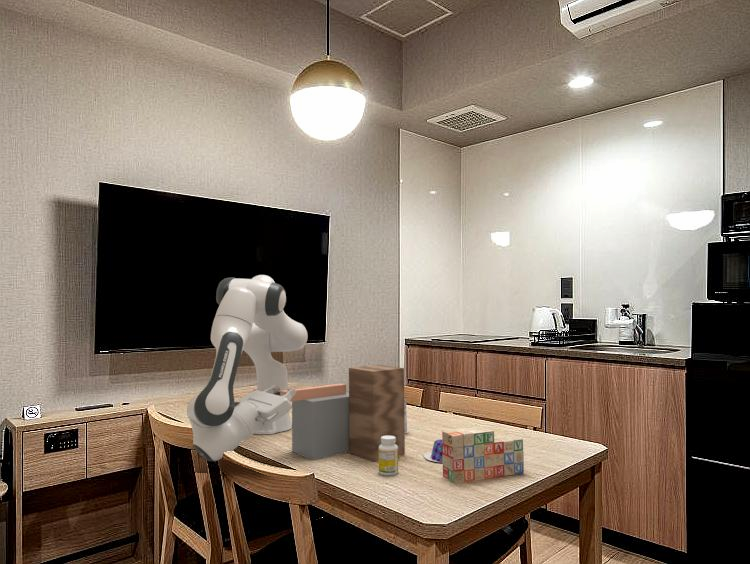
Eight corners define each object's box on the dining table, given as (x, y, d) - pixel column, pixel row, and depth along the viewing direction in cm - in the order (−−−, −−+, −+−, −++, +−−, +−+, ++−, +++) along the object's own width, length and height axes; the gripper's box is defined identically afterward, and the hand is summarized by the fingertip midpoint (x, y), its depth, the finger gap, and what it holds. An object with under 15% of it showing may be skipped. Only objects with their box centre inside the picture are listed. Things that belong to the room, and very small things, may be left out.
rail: (285, 402, 166) (285, 392, 166) (280, 400, 168) (280, 390, 169) (346, 394, 180) (346, 384, 180) (340, 392, 182) (340, 383, 182)
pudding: (467, 464, 161) (467, 446, 161) (425, 465, 161) (425, 446, 161) (461, 453, 173) (461, 436, 173) (422, 453, 173) (422, 436, 173)
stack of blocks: (510, 467, 158) (510, 423, 158) (524, 474, 152) (523, 427, 152) (442, 476, 150) (441, 429, 151) (453, 483, 144) (452, 435, 145)
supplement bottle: (390, 477, 149) (389, 440, 150) (374, 473, 153) (374, 437, 153) (402, 472, 154) (402, 436, 154) (387, 468, 157) (386, 433, 157)
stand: (373, 461, 164) (372, 371, 164) (349, 453, 173) (348, 367, 174) (404, 454, 171) (403, 368, 172) (379, 446, 181) (379, 364, 181)
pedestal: (312, 459, 166) (312, 401, 167) (292, 451, 176) (291, 396, 176) (361, 449, 177) (361, 394, 178) (339, 442, 187) (339, 390, 187)
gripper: (260, 413, 151) (299, 383, 159) (228, 403, 167) (265, 376, 175) (271, 432, 153) (309, 401, 161) (238, 420, 169) (274, 393, 177)
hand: (285, 388), depth 168 cm, fingers open, 8 cm apart
